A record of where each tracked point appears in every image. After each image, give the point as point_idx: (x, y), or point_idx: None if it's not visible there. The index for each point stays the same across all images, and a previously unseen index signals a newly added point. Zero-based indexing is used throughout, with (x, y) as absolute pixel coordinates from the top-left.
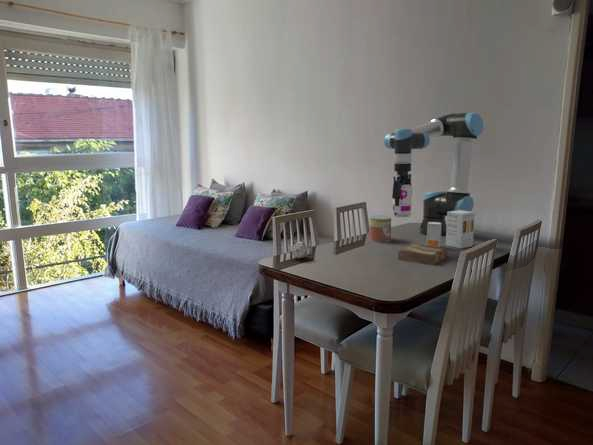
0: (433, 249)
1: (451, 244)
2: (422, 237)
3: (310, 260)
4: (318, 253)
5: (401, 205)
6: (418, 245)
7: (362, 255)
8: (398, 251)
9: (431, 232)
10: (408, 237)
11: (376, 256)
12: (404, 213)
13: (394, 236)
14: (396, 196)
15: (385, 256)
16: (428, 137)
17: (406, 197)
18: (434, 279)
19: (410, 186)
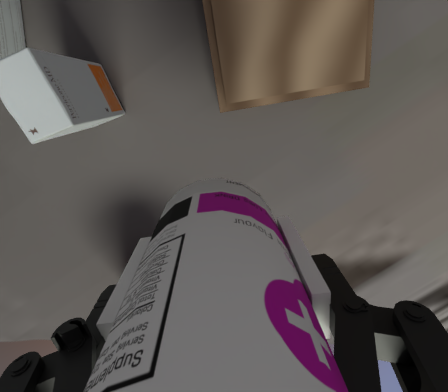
0: None
1: (20, 38)
2: (15, 212)
3: None
4: (415, 293)
5: (285, 246)
6: (239, 73)
7: (371, 202)
8: (368, 85)
9: (86, 97)
10: (60, 243)
11: (359, 165)
12: (256, 198)
13: (90, 279)
14: (434, 323)
15: (342, 143)
16: None
17: (267, 272)
18: None
19: None
